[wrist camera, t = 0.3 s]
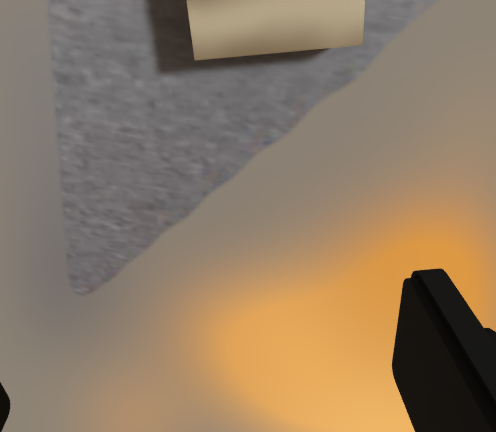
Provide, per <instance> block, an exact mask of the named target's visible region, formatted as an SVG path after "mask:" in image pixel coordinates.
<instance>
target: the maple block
mask: <svg viewBox="0 0 496 432" xmlns="http://www.w3.org/2000/svg"><path fill="white" fill-rule="evenodd" d="M187 7H188V15H189V22H190V30H191V37H192V44H193V52H194V59H195V60H206V59H216V58H227V57H238V56H249V55H260V54H271V53H282V52H292V51H303V50H314V49H325V48H336V47H347V46H358V45H362V44H363V26H364V7H365V0H187Z"/></svg>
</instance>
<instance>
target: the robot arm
mask: <svg viewBox="0 0 496 432" xmlns="http://www.w3.org/2000/svg"><path fill="white" fill-rule="evenodd" d="M392 370H393V375H394V379H395V382H396V385H397V387H398V389H399V392H400V395H401V397H402V400H403V402H404V404H405V407H406V410H407V412H408V415H409V417H410V420H411V423H412V425H413V427H414V430H415V432H496V332H495V331H493V330H492V329H490V328H483V326H482V325H481V323H480V322H479V320H478V319H477V318H476V316H475V315H474V313H473V312H472V310H471V309H470V307H469V306H468V304H467V303H466V301H465V300H464V298H463V297H462V295H461V294H460V292H459V291H458V289H457V288H456V286H455V285H454V284H453V282H452V281H451V279H450V278H449V276H448V275H447V273H446V272H445V271H444V270H443V269H430V270H419V271H414V272H413V273H412V275H411V278H407V279H405V280H404V282H403V288H402V295H401V303H400V310H399V317H398V324H397V332H396V339H395V347H394V353H393V360H392ZM9 411H10V399H9V397H8V395H7V393H6V392H5V390H4V388H3V386H2V385H1V383H0V432H1V431H2V429H3V426H4V424H5V422H6V420H7V418H8V415H9Z"/></svg>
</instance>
